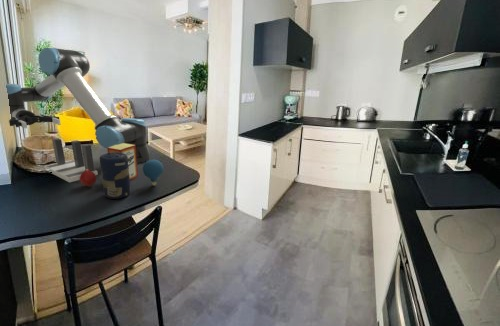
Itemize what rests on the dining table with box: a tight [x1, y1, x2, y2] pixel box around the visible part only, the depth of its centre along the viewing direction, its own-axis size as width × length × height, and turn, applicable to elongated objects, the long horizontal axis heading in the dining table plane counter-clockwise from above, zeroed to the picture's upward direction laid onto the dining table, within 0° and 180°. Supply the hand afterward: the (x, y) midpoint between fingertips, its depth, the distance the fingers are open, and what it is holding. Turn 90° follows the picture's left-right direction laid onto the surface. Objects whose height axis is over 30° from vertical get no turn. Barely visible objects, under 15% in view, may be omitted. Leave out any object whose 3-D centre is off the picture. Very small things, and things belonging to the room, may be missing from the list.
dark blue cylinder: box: [99, 152, 131, 200], centre depth 97 cm, size 10×10×18 cm
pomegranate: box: [79, 169, 97, 188], centre depth 104 cm, size 6×6×8 cm
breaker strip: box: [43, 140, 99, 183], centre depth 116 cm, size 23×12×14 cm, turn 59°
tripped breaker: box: [51, 137, 66, 164], centre depth 119 cm, size 3×2×12 cm
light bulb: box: [142, 158, 164, 186], centre depth 109 cm, size 8×8×12 cm
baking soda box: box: [106, 143, 139, 181], centre depth 113 cm, size 10×6×16 cm
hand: (43, 123), depth 120 cm, fingers open, 13 cm apart
